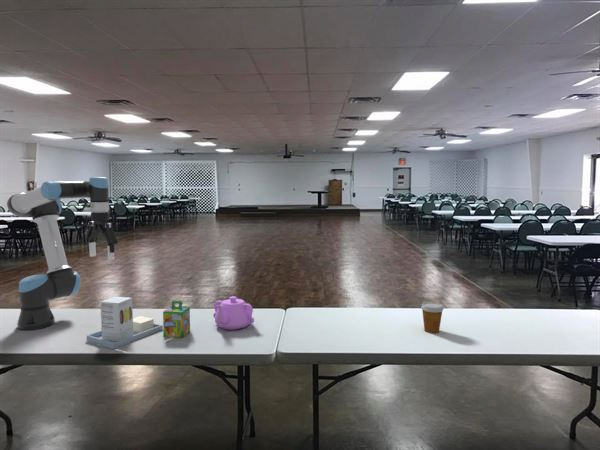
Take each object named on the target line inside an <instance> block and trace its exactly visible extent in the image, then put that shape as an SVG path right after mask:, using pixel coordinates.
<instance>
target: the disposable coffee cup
mask: <svg viewBox="0 0 600 450" xmlns="http://www.w3.org/2000/svg"><path fill="white" fill-rule="evenodd" d="M420 308H421V310H422V311H421V312H422V319H423V329H424V332H425V333H430V334H437V333H439V332H440V329H441V323H442V322H441V321H442V316H443V311H444V307H443V304H441V303H439V302H435V301H434V302H432V301H426V302H423V303H422V304H421V307H420Z"/></svg>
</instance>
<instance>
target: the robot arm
mask: <svg viewBox="0 0 600 450" xmlns="http://www.w3.org/2000/svg"><path fill="white" fill-rule="evenodd" d="M109 195H110V194H109V183H108V178H107V177H106V176H104V177H103V176H91V177H89V179H88V180H74V181H73V180H71V181H70V180H69V181H65V180H64V181H63V180H60V181H59V180H58V181H57V180H56V181H55V180H51V181H50V180H49V181H48V180H47V181H43V182H42V184H41V186H40V187H37V188H35V189H31V190H29V191H26V192H18V193H14V194H13V195H11V196H10V197H9V198H8V200H7V202H6V206H7V209H8V210H9V212H10V213H11V214H13V215H15V216H16V217H21V218H32V219H31V220H32V221H33V222H34V223H35V224H37V227H38V233H39V236H40V239H41V244H42V247H43V252H44V257H45V260H46V264H47V268H48V270H47V272H46V274H44V273H41V274H40V273H39V274H33V275H30V276H26V277H25V278H22V279H21V280H20V281H19V282H18V293H19V294H18V295H19V303H20V304H19V306H20V313H19V317H18V320H17V324H16V326H17V329H18V330H21V331H31V330H39V329H43V328H47V327H50V326H53V325H54V324H55V323H56V322H55V316H54V313H53V312H52V309H51V307H50V301H53V300H56V299H60V298H65V297H67V298H68V297H70V296H72V295H75V294H77V293H78V292H79V290H80V288H81V283H82V281H81V276H80V274H79V273H78V271H75V270H74V269H73V267H72V266H70V265H69V264H68V259H67V256H66V252H65V248H64V245H63V240H62V236H61V233H60V228H59V225H58V219H59V218H60V214H61V213H62V207H63V206H62V201H61V199H82V198H85V199H87V198H88V199H89V201H90V211H91V212H90V220H91V221H88V229H87V231H86V236H85V239H84V240H85V242H87V243H88V249H89V257H90V258H93V257H97V252H96V251H97V246H96V239H97V237H98V235H99V233H101V235H103V237H104V239H105V241H106V242H107V246H106V247H107V260H108V261H112V260H115V245H118V239H117V236H116V234H115V230H114V227H113V223H112V222H108V221H109V220H110V212H109V211H110V202H109V201H110V200H109V199H110V198H109V197H110V196H109Z"/></svg>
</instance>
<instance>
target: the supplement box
mask: <svg viewBox="0 0 600 450" xmlns="http://www.w3.org/2000/svg"><path fill="white" fill-rule="evenodd" d="M99 306H100V307H99V308H100V322H101V323H100V326H101V327H100V328H101V330H102V339H103V340H107V341H116V342H117V341H120V340H122V339H125V338H128V337H130V336H132V335H134V334H133V315H134V314H133V312H134V311H133V298H132V297H127V296H126V297H124V296H113V297H111V298H107V299H106V300H102V301H100V303H99Z"/></svg>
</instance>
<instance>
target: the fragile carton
mask: <svg viewBox="0 0 600 450" xmlns="http://www.w3.org/2000/svg"><path fill="white" fill-rule="evenodd" d="M154 323H155V322H154V318H152V317H146V316H142V315H139V316H136V317H134V318H133V331H135V332H139V333H141V332H144V331H147V330H150V329H152V328H154Z"/></svg>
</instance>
